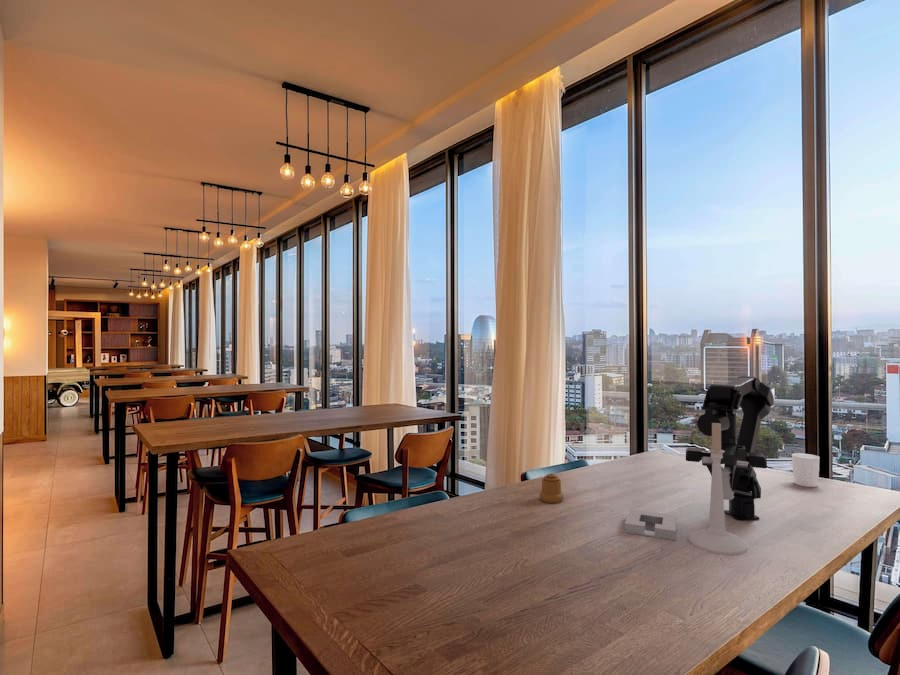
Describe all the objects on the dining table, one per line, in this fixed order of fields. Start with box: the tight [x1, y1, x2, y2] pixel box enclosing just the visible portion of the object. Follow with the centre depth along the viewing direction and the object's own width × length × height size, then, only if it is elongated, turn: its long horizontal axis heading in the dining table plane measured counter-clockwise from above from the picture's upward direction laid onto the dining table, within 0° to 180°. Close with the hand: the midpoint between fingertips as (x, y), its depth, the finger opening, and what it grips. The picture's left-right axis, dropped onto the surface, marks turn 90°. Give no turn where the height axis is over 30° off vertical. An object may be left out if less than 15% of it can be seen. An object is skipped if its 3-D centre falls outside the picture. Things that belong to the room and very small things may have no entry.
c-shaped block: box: [624, 508, 678, 541], centre depth 130 cm, size 12×12×2 cm
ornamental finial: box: [539, 473, 565, 504], centre depth 153 cm, size 8×8×8 cm
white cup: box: [791, 452, 820, 488], centre depth 170 cm, size 8×8×10 cm
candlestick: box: [687, 422, 749, 556], centre depth 120 cm, size 13×13×30 cm
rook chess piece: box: [721, 466, 734, 501], centre depth 131 cm, size 4×4×8 cm
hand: (724, 489), depth 131 cm, fingers closed on rook chess piece, 3 cm apart
